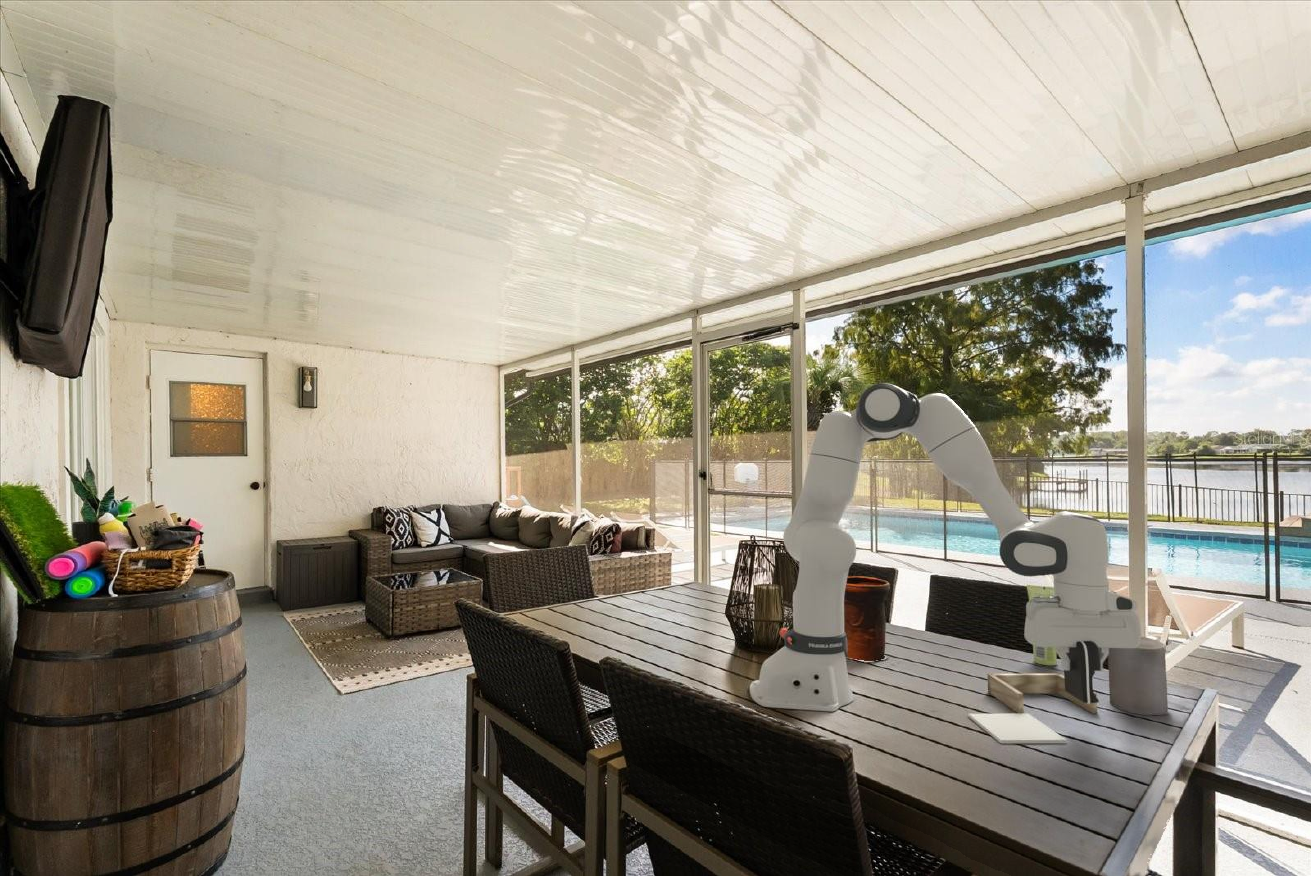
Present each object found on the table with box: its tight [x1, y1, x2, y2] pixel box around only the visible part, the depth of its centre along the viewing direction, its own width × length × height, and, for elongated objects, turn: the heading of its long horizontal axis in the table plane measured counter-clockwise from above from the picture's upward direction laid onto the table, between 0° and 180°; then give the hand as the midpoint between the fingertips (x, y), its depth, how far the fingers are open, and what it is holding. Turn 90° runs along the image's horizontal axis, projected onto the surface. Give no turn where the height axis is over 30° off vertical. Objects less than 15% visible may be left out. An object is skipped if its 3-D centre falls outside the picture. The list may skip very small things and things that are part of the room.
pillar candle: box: [1107, 636, 1169, 716], centre depth 130 cm, size 10×10×15 cm
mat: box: [967, 713, 1068, 744], centre depth 120 cm, size 12×12×1 cm
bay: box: [987, 672, 1098, 714], centre depth 133 cm, size 16×12×4 cm
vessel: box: [844, 576, 891, 663], centre depth 167 cm, size 14×14×20 cm
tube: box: [1026, 584, 1058, 667], centre depth 159 cm, size 6×5×20 cm
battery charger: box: [1063, 641, 1101, 704], centre depth 119 cm, size 7×4×11 cm, turn 175°
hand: (1081, 670), depth 119 cm, fingers closed on battery charger, 4 cm apart
